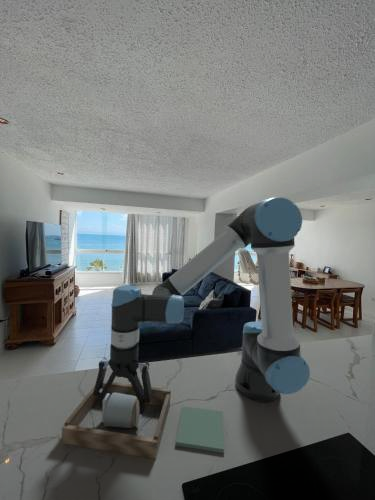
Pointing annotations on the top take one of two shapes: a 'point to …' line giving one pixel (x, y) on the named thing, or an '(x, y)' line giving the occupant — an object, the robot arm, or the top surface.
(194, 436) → the rubber mat
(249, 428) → the top surface
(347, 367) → the top surface
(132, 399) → the ceramic mug
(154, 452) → the open wooden box frame
